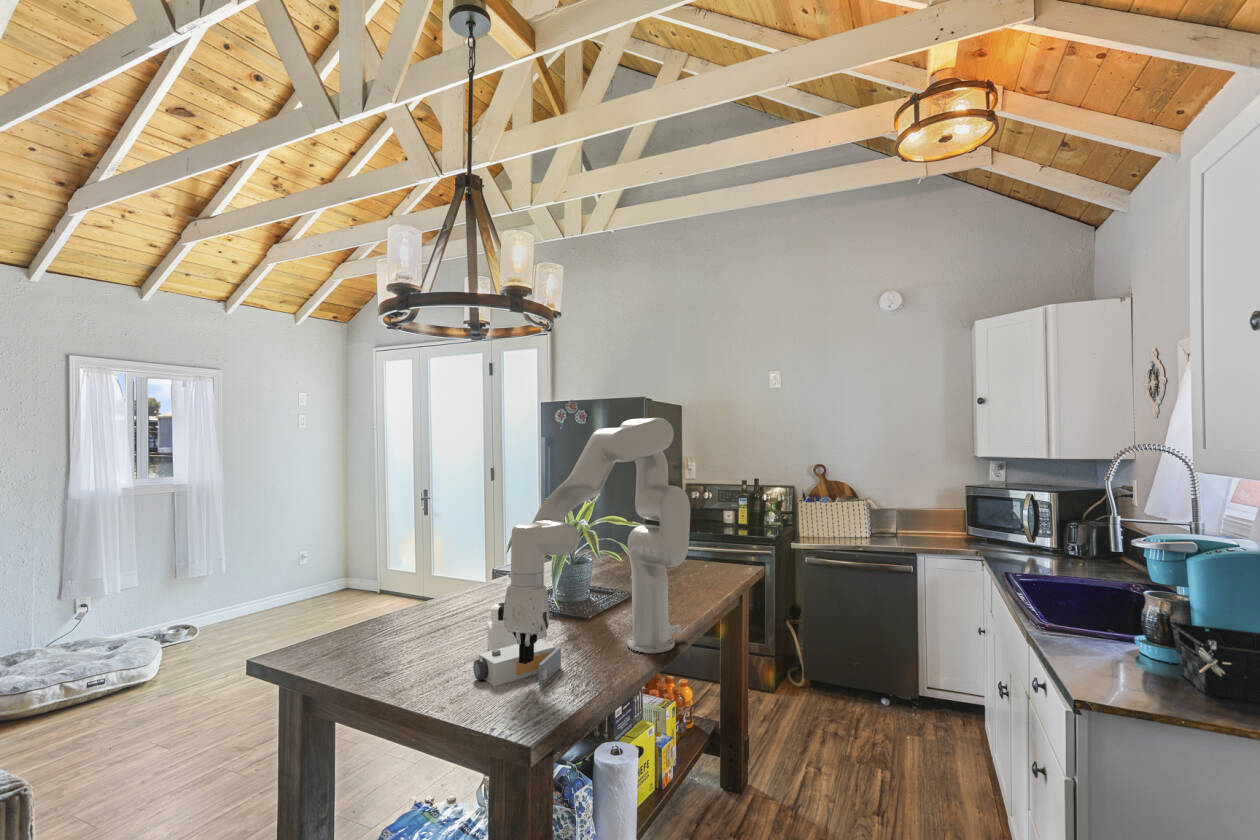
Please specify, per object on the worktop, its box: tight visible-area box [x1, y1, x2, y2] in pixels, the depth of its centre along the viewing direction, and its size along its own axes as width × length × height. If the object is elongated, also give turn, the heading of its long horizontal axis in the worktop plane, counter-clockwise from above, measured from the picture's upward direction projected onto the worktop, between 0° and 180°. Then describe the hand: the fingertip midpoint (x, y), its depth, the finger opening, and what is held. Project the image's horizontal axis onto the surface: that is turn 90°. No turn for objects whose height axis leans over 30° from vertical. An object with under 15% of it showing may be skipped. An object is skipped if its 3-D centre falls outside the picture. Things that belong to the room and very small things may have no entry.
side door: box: [537, 646, 562, 687], centre depth 136 cm, size 12×1×5 cm, turn 165°
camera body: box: [472, 639, 556, 687], centre depth 139 cm, size 18×8×6 cm, turn 130°
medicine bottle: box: [486, 602, 517, 651], centre depth 154 cm, size 7×7×12 cm
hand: (526, 661), depth 133 cm, fingers closed
